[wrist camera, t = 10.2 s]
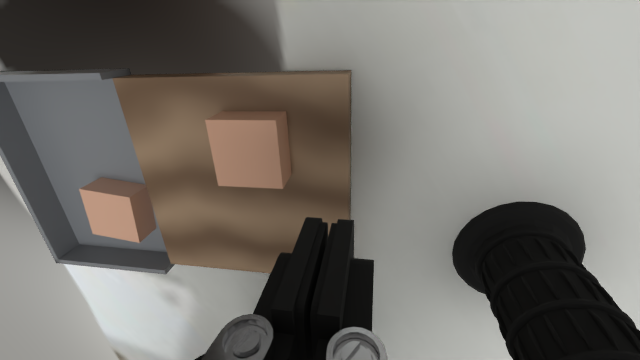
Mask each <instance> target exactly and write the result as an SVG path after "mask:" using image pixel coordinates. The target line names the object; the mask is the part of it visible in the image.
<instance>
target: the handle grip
mask: <svg viewBox="0 0 640 360" xmlns="http://www.w3.org/2000/svg"><path fill="white" fill-rule="evenodd" d="M585 250H586V248H585V241H584V235H583V233H582V231H581V229H580V227H579V225H578V223H577V222H576V221H575V220H574V219H573V218H572V217H571V216H570V215H568V214H567V213H566V212H564V211H562V210H560V209H558V208H556V207H554V206H551V205H546V204H541V203H537V202H516V203H510V204H504V205H500V206H497V207H495V208H492V209H490V210H487V211H485V212H483V213H482V214H480V215H478V216H477V217H475V218H474V219H472V220H471V221H470V222H469V223H468V224H467V225H466V226H465V227H464V228H463V229H462V230H461V232H460V233H459V235H458V237H457V239H456V241H455V243H454V247H453V252H452V256H453V264H454V267H455V269H456V271H457V273H458V275H459V276H460V277H461V278H462V279H463V280H464V281H465V282H466V283H467V284H468V285H469V286H471V287H472V288H474V289H475V290H477V291H478V292H481V293H484V294H486V296H487V299H488V300H489V301H490V306H491V310H492V312H493V314H494V316H495V317H496V318H497V320H498V323H499V329H500V331H501V334H502V336H503V338H504V339H505V341H506V347H507V349H508V352H509V354H510V356H511V357H512V358H513V360H640V331H639V330H638V329H636V326H635V323H634V322H633V321H632V319H631V318H630V317H629V316H628V315H627V314H626V313H624V312H623V311H622V310H621V309H620V308H619V307H618V305H617V304H616V303H615V302H614V301H613V298H612V297H611V296H610V295H609V294H608V293H607V292H606V290H605V289H604V288H603V287H601V285H600V284H599V282H598V280H597V279H596V278H595V277H594V276H593V275H592V274H591V273H590V272H589V271H587V270H586V268H585V267H584V266H583V265H582V261H583V257H584V254H585Z"/></svg>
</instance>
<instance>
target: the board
mask: <svg viewBox="0 0 640 360" xmlns="http://www.w3.org/2000/svg"><path fill="white" fill-rule="evenodd" d="M112 79H113V82H114V85H115V89H116V92H117V95H118V98H119V101H120V104H121V108H122V111H123V114H124V117H125V120H126V123H127V127H128V130H129V133H130V136H131V139H132V142H133V146H134V149H135V152H136V155H137V158H138V161H139V165H140V168H141V171H142V174H143V177H144V180H145V184H146V187H147V190H148V193H149V196H150V200H151V203H152V206H153V209H154V212H155V215H156V219H157V222H158V225H159V228H160V231H161V234H162V238H163V241H164V244H165V247H166V250H167V253H168V257H169V260H170V263H171V264H180V265H190V266H201V267H211V268H221V269H232V270H242V271H252V272H263V273H271V272H272V269H273V267H274V265H275V263H276V260H277V258H278V256H279V254H280V253H281V252H285V253H292V252H293V249H294V247H295V244H296V241H297V239H298V236H299V234H300V231H301V228H302V226H303V223H304V221H305V218H306V217H314V218H322V221H323V222H327V223H328V236H329V231H330V227H331V224H332V223H337V221H338V219H345V220H350V214H351V70H343V71H294V72H250V73H249V72H245V73H195V74H146V75H127V76H122V77H116V78H112ZM221 111H286V114H287V126H288V138H289V149H290V161H291V173H292V175H291V176H290V178H289V180H288V181H287V183H286V185H285V186H284V188H283V189H274V188H253V187H232V186H218V182H217V177H216V172H215V167H214V162H213V157H212V152H211V147H210V142H209V137H208V132H207V127H206V122H205V120H206V119H208V118H210V117H212V116H214V115H215V114H217V113H219V112H221Z"/></svg>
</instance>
